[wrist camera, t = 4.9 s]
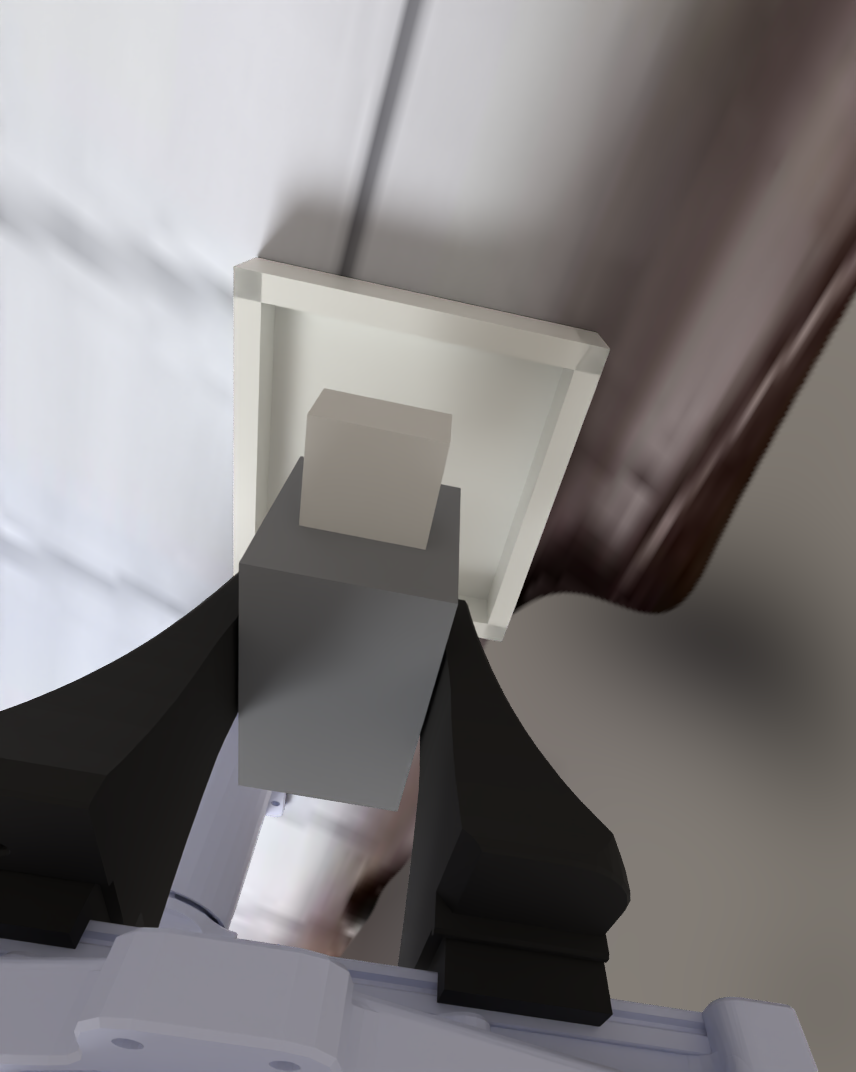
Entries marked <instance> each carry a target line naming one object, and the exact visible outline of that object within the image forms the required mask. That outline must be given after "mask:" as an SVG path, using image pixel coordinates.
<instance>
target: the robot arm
mask: <svg viewBox="0 0 856 1072" xmlns="http://www.w3.org/2000/svg"><path fill="white" fill-rule="evenodd" d="M238 681H239V572H238V573H237V574H236V575H234V576H233V577H232V578H231V579H230V580H229V581H228V582H226V583H225V584H224V585H223V586H222V587H221V588H219V589H218V590H217V591H216V592H215V593H213V594H212V595H211V596H210V597H208V598H207V599H206V600H205V601H203V602H202V603H201V604H200V605H198V606H197V607H196V608H195V609H193V610H192V611H191V612H189V613H188V614H187V615H185V616H184V617H182V618H181V619H180V620H178V621H177V622H175V623H174V624H173V625H171V626H170V627H168V628H167V629H166V630H164V631H163V632H161V633H160V634H158V635H157V636H155V637H154V638H152V639H151V640H149V641H147V642H146V643H144V644H143V645H141V646H139V647H138V648H136V649H134V650H133V651H131V652H129V653H128V654H126V655H124V656H123V657H121V658H119V659H117V660H115V661H113V662H112V663H110V664H108V665H106V666H104V667H102V668H100V669H98V670H96V671H94V672H92V673H90V674H88V675H86V676H84V677H82V678H80V679H78V680H76V681H74V682H72V683H69V684H67V685H65V686H63V687H61V688H58V689H56V690H54V691H51V692H49V693H47V694H44V695H42V696H39V697H37V698H34V699H32V700H30V701H27V702H24V703H22V704H19V705H17V706H14V707H11V708H8V709H5V710H3V711H0V1072H819V1071H818V1068H817V1066H816V1063H815V1061H814V1058H813V1056H812V1053H811V1050H810V1048H809V1045H808V1043H807V1040H806V1038H805V1035H804V1032H803V1030H802V1027H801V1025H800V1022H799V1020H798V1017H797V1015H796V1012H795V1010H794V1009H793V1008H792V1007H791V1006H789V1005H786V1004H780V1003H773V1002H767V1001H760V1000H753V999H747V998H740V997H724V998H719V999H716V1000H714V1001H712V1002H711V1003H710V1004H709V1005H708V1006H707V1007H706V1008H705V1009H704V1011H703V1012H696V1011H690V1010H683V1009H676V1008H669V1007H663V1006H656V1005H650V1004H643V1003H636V1002H630V1001H624V1000H617V999H610V995H609V990H608V983H607V977H606V972H605V965H604V962H605V963H606V962H607V961H608V960H609V950H608V945H607V939H606V932H607V931H608V930H609V929H610V928H611V927H612V925H613V924H614V923H615V922H616V920H618V918H619V917H620V916H621V915H622V913H623V912H624V911H625V910H626V908H627V906H628V904H629V902H630V889H629V884H628V880H627V875H626V871H625V867H624V864H623V861H622V858H621V855H620V852H619V849H618V847H617V844H616V841H615V838H614V835H613V834H612V832H611V831H610V830H609V829H608V828H607V827H606V826H605V825H604V824H603V823H602V822H601V821H600V820H599V819H598V818H597V817H596V816H595V815H594V814H593V813H592V812H591V811H590V810H589V809H588V808H587V807H586V806H585V805H584V804H583V803H582V802H581V801H580V800H579V799H578V797H577V796H576V795H575V794H574V793H573V792H572V791H571V789H570V788H569V787H568V786H567V785H566V784H565V783H564V781H563V780H562V779H561V778H560V777H559V776H558V774H557V773H556V771H555V770H554V769H553V768H552V766H551V765H550V764H549V762H548V761H547V760H546V758H545V757H544V756H543V754H542V753H541V752H540V751H539V749H538V748H537V747H536V745H535V744H534V742H533V741H532V739H531V738H530V736H529V735H528V733H527V732H526V730H525V729H524V727H523V726H522V724H521V722H520V721H519V719H518V717H517V716H516V714H515V713H514V711H513V709H512V707H511V706H510V704H509V702H508V701H507V698H506V697H505V695H504V693H503V691H502V689H501V688H500V685H499V683H498V681H497V679H496V677H495V675H494V673H493V671H492V669H491V667H490V664H489V662H488V659H487V657H486V655H485V653H484V650H483V648H482V645H481V643H480V640H479V638H478V635H477V632H476V629H475V626H474V624H473V620H472V617H471V614H470V611H469V607H468V604H467V603H466V601H465V600H461V599H458V606H457V609H456V613H455V616H454V620H453V623H452V626H451V630H450V633H449V637H448V640H447V643H446V647H445V650H444V654H443V657H442V661H441V664H440V667H439V671H438V674H437V678H436V681H435V684H434V688H433V691H432V695H431V698H430V701H429V705H428V708H427V712H426V715H425V719H424V722H423V725H422V729H421V732H420V777H419V794H418V803H417V812H416V822H415V831H414V840H413V849H412V857H411V866H410V875H409V883H408V892H407V900H406V908H405V916H404V924H403V931H402V939H401V947H400V954H399V962H398V966H392V965H385V964H378V963H372V962H365V961H359V960H352V959H345V958H339V957H332V956H328V955H325V954H321V953H318V952H314V951H310V950H306V949H303V948H297V947H290V946H284V945H277V944H270V943H264V942H257V941H250V940H244V939H237V933H236V932H233V931H230V930H228V929H229V926H230V923H231V920H232V918H233V915H234V912H235V910H236V906H237V903H238V900H239V897H240V894H241V890H242V887H243V884H244V881H245V878H246V875H247V871H248V868H249V865H250V862H251V859H252V855H253V852H254V849H255V846H256V843H257V840H258V836H259V833H260V830H261V827H262V824H263V820H264V817H265V815H266V816H272V817H280V816H282V815H283V812H284V809H285V799H286V793H282V792H276V791H270V790H264V789H258V788H252V787H246V786H240V785H238Z"/></svg>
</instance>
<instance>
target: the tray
mask: <svg viewBox="0 0 856 1072" xmlns="http://www.w3.org/2000/svg"><path fill="white" fill-rule="evenodd" d="M609 351H610V348H609V347H608V345H607V344H606V343H605V342H604V340H603V339H602V338H601V337H600V335H599V334H598V333H597V332H593V331H588V330H584V329H579V328H575V327H570V326H566V325H561V324H557V323H552V322H547V321H543V320H538V319H534V318H529V317H525V316H520V315H516V314H511V313H507V312H502V311H498V310H493V309H489V308H484V307H480V306H475V305H470V304H466V303H461V302H457V301H452V300H448V299H443V298H439V297H434V296H430V295H425V294H421V293H416V292H412V291H407V290H402V289H398V288H393V287H389V286H384V285H380V284H375V283H371V282H366V281H362V280H357V279H353V278H348V277H344V276H339V275H334V274H330V273H325V272H321V271H316V270H312V269H307V268H303V267H298V266H294V265H289V264H285V263H280V262H276V261H271V260H266V259H262V258H257V257H255V258H253V259H251V260H248V261H246V262H243V263H241V264H238V265H236V266H234V321H233V576H234V575H236V574H237V573H238V572H239V562H240V560H241V558H242V557H243V555H244V553H245V551H246V550H247V548H248V546H249V544H250V543H251V541H252V539H253V537H254V536H255V534H256V532H257V530H258V529H259V527H260V525H261V524H262V522H263V520H264V518H265V517H266V515H267V513H268V511H269V510H270V508H271V506H272V504H273V503H274V501H275V499H276V498H277V496H278V494H279V492H280V491H281V489H282V487H283V485H284V484H285V482H286V480H287V478H288V477H289V475H290V473H291V472H292V470H293V468H294V466H295V465H296V463H297V461H298V459H299V458H300V456H303V457H304V451H305V437H306V424H307V414H308V412H309V411H310V409H311V408H312V406H313V404H314V403H315V401H316V400H317V398H318V397H319V395H320V394H321V392H322V391H323V389H324V388H326V389H331V390H336V391H341V392H346V393H351V394H355V395H360V396H365V397H370V398H375V399H380V400H384V401H389V402H394V403H399V404H404V405H409V406H413V407H418V408H423V409H428V410H433V411H438V412H443V413H447V414H452V426H451V442H450V447H449V452H448V456H447V460H446V464H445V469H444V473H443V477H442V482H441V484H443V485H448V486H453V487H458V488H461V500H460V542H459V584H458V599H461V600H465V601H466V603H467V604H468V607H469V611H470V614H471V617H472V620H473V624H474V626H475V629H476V632H477V635H478V638H484V639H489V640H494V641H500V642H502V641H503V638H504V635H505V633H506V629H507V627H508V624H509V621H510V619H511V616H512V614H513V611H514V608H515V606H516V603H517V600H518V597H519V595H520V592H521V589H522V587H523V584H524V581H525V579H526V576H527V573H528V570H529V568H530V565H531V562H532V560H533V557H534V554H535V551H536V549H537V546H538V543H539V541H540V538H541V535H542V533H543V530H544V527H545V524H546V522H547V519H548V516H549V514H550V511H551V508H552V506H553V503H554V500H555V497H556V495H557V492H558V489H559V487H560V484H561V481H562V478H563V476H564V473H565V470H566V468H567V465H568V462H569V460H570V457H571V454H572V451H573V449H574V446H575V443H576V441H577V438H578V435H579V433H580V430H581V427H582V424H583V422H584V419H585V416H586V414H587V411H588V408H589V405H590V403H591V400H592V397H593V395H594V392H595V389H596V387H597V384H598V381H599V378H600V376H601V373H602V370H603V368H604V365H605V362H606V360H607V357H608V354H609Z"/></svg>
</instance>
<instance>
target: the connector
mask: <svg viewBox="0 0 856 1072" xmlns="http://www.w3.org/2000/svg"><path fill="white" fill-rule="evenodd" d="M451 426H452V414H447V413H443V412H438V411H433V410H428V409H423V408H418V407H413V406H409V405H404V404H399V403H394V402H389V401H384V400H380V399H375V398H370V397H365V396H360V395H355V394H351V393H346V392H341V391H336V390H331V389H326V388H324V389H323V391H322V392H321V394H320V395H319V397H318V398H317V400H316V401H315V403H314V404H313V406H312V408H311V409H310V411H309V412H308V414H307V424H306V437H305V451H304V457H303V456H300V458H299V459H298V461H297V463H296V465H295V466H294V468H293V470H292V472H291V473H290V475H289V477H288V478H287V480H286V482H285V484H284V485H283V487H282V489H281V491H280V492H279V494H278V496H277V498H276V499H275V501H274V503H273V504H272V506H271V508H270V510H269V511H268V513H267V515H266V517H265V518H264V520H263V522H262V524H261V525H260V527H259V529H258V530H257V532H256V534H255V536H254V537H253V539H252V541H251V543H250V544H249V546H248V548H247V550H246V551H245V553H244V555H243V557H242V558H241V560H240V562H239V681H238V785H240V786H246V787H252V788H258V789H264V790H270V791H276V792H282V793H288V794H294V795H300V796H306V797H312V798H318V799H324V800H330V801H336V802H342V803H348V804H355V805H361V806H367V807H373V808H379V809H385V810H391V811H398V807H399V804H400V801H401V797H402V794H403V790H404V787H405V783H406V780H407V777H408V773H409V770H410V766H411V763H412V760H413V756H414V753H415V749H416V746H417V742H418V739H419V736H420V732H421V729H422V725H423V722H424V719H425V715H426V712H427V708H428V705H429V701H430V698H431V695H432V691H433V688H434V684H435V681H436V678H437V674H438V671H439V667H440V664H441V661H442V657H443V654H444V650H445V647H446V643H447V640H448V637H449V633H450V630H451V626H452V623H453V620H454V616H455V613H456V609H457V606H458V584H459V542H460V500H461V488H458V487H453V486H448V485H443V484H441V482H442V477H443V473H444V469H445V464H446V460H447V456H448V452H449V447H450V442H451Z"/></svg>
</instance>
